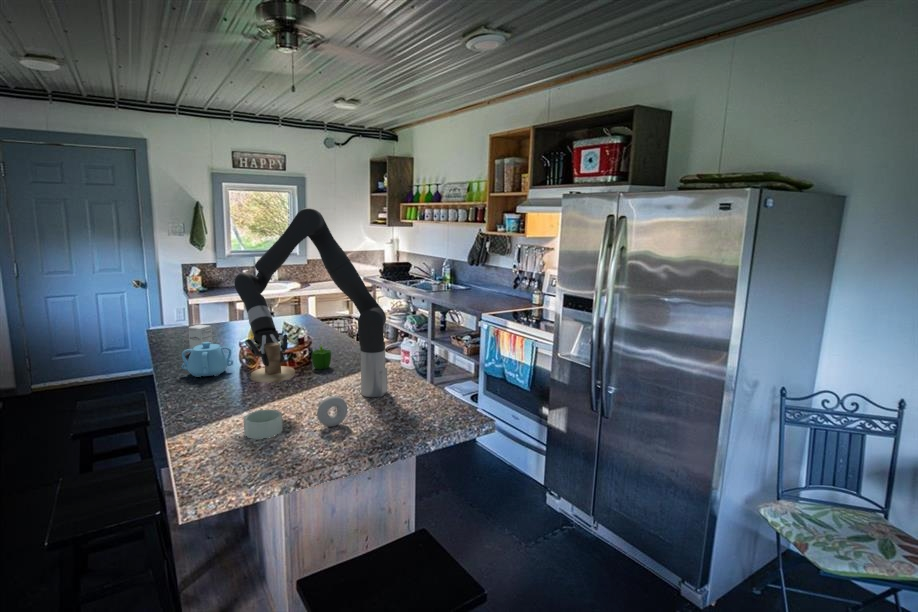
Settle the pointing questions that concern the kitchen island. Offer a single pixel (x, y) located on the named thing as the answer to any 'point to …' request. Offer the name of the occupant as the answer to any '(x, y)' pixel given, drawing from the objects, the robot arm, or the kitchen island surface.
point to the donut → (326, 405)
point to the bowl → (262, 424)
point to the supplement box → (199, 335)
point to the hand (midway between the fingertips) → (274, 363)
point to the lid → (272, 367)
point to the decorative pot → (206, 360)
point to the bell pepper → (321, 358)
